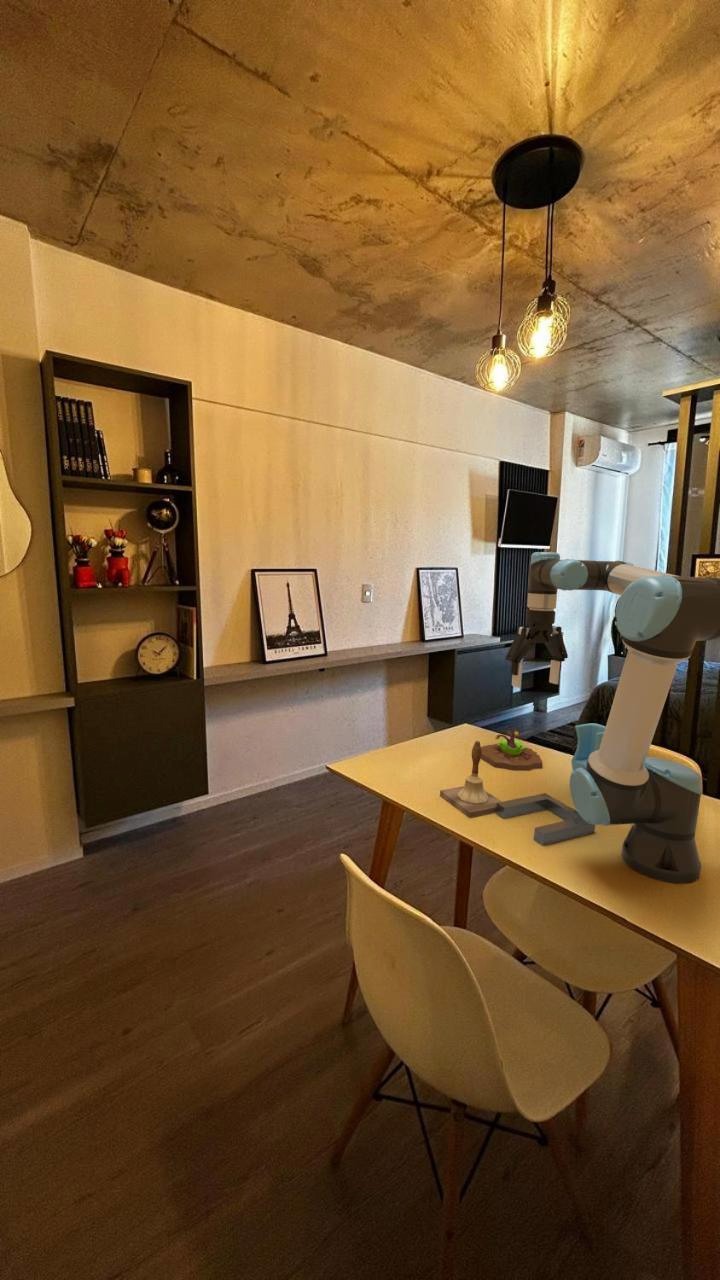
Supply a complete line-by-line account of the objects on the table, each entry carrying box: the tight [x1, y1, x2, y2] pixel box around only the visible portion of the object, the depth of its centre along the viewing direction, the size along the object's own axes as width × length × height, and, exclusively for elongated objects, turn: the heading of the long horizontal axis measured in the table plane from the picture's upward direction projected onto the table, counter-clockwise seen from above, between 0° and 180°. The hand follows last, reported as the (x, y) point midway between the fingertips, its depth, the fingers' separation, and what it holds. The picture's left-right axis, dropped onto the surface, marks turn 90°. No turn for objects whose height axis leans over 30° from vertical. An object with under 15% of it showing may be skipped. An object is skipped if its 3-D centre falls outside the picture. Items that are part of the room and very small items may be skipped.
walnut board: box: [439, 785, 503, 819], centre depth 143 cm, size 14×12×2 cm
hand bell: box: [458, 740, 489, 804], centre depth 142 cm, size 8×8×16 cm
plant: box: [480, 729, 543, 772], centre depth 176 cm, size 20×20×11 cm
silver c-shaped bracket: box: [495, 792, 596, 846], centre depth 133 cm, size 17×16×3 cm
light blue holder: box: [571, 722, 606, 771], centre depth 149 cm, size 8×8×20 cm
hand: (535, 685), depth 147 cm, fingers open, 13 cm apart
